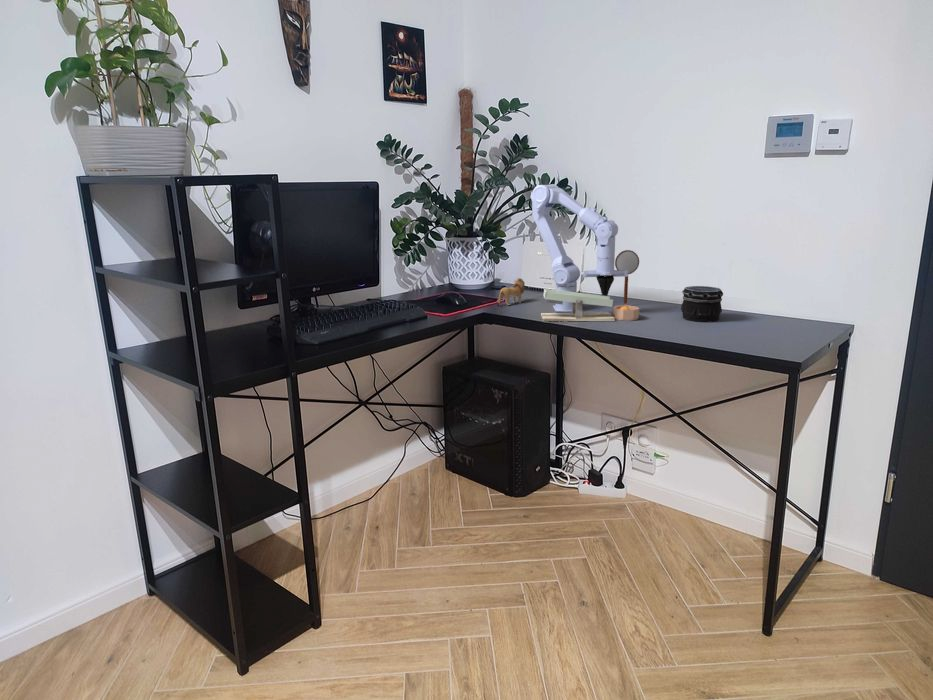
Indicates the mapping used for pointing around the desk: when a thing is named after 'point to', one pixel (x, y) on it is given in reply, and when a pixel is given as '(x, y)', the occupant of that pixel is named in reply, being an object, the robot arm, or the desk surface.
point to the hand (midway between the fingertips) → (604, 298)
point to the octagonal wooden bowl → (626, 313)
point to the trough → (576, 298)
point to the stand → (577, 315)
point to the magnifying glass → (627, 266)
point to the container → (701, 303)
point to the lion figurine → (512, 291)
